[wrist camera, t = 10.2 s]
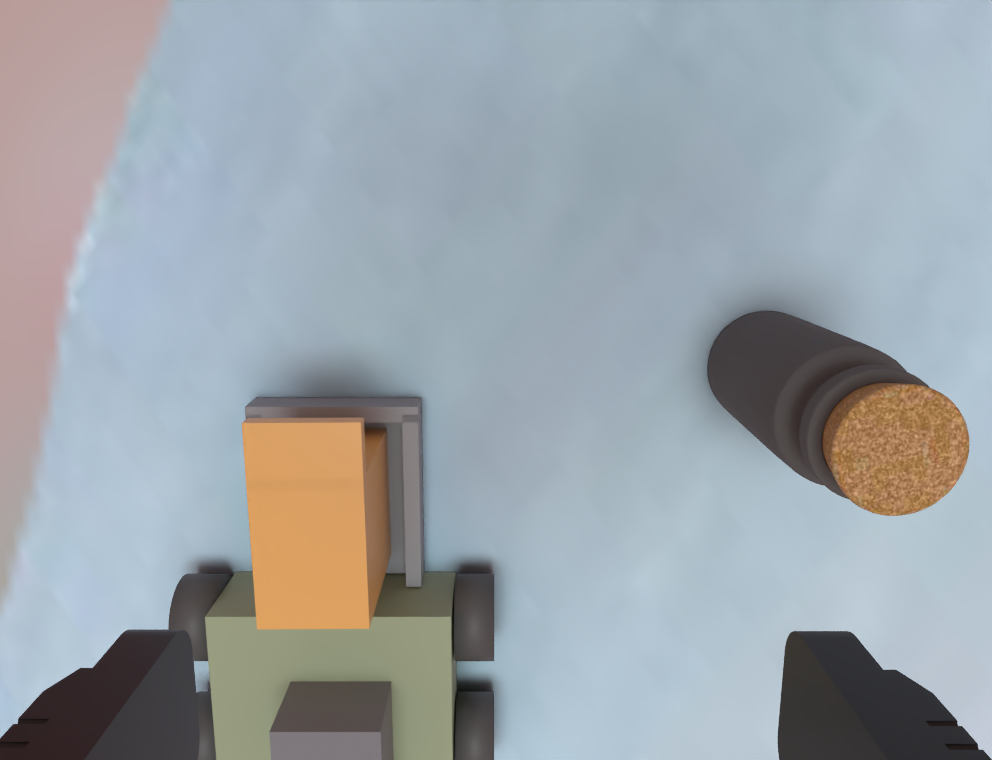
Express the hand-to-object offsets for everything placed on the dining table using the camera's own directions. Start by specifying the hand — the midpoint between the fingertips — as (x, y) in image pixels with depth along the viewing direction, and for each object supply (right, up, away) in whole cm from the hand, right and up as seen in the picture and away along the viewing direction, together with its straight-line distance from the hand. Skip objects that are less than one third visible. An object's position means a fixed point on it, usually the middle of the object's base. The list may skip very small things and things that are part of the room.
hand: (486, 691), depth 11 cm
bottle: (+14, +5, +32) cm, 35 cm away
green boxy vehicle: (-8, -7, +34) cm, 36 cm away
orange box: (-8, -1, +33) cm, 34 cm away
